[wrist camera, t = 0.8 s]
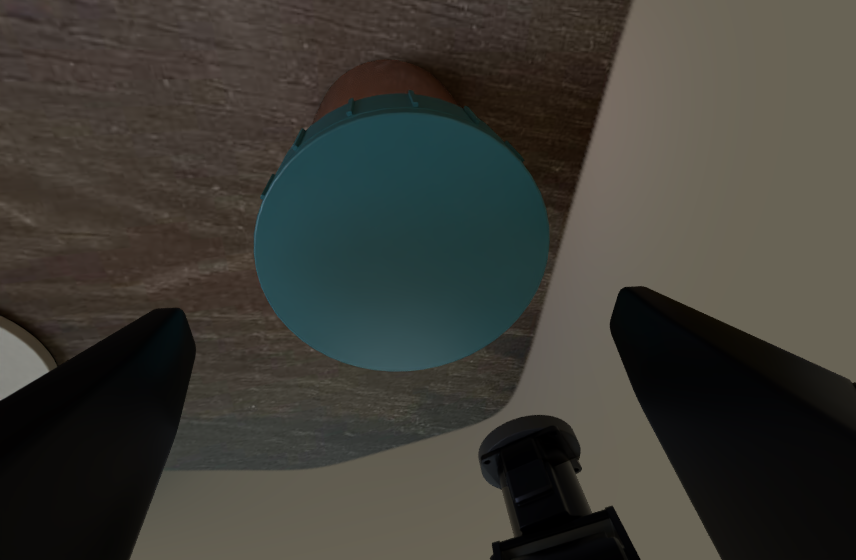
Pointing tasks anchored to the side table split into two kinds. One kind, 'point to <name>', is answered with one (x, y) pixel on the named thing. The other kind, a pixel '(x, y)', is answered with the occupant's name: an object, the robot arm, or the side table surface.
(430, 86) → the jar
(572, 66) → the side table surface
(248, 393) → the side table surface
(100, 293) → the side table surface
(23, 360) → the saucer
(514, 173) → the lid
